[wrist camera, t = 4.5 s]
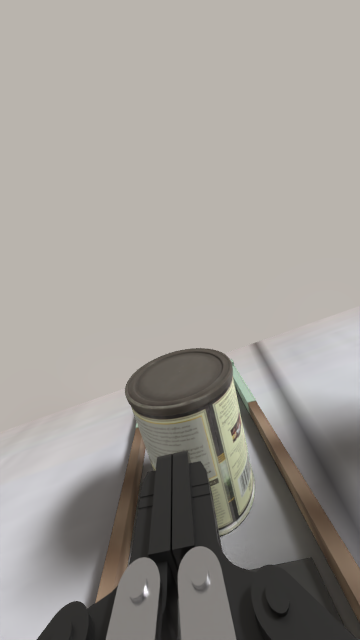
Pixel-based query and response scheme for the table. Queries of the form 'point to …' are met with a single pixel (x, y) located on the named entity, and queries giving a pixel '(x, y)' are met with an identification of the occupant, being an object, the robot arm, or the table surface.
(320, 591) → the mats
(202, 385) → the coffee can
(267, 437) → the walnut lane
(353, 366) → the table surface
